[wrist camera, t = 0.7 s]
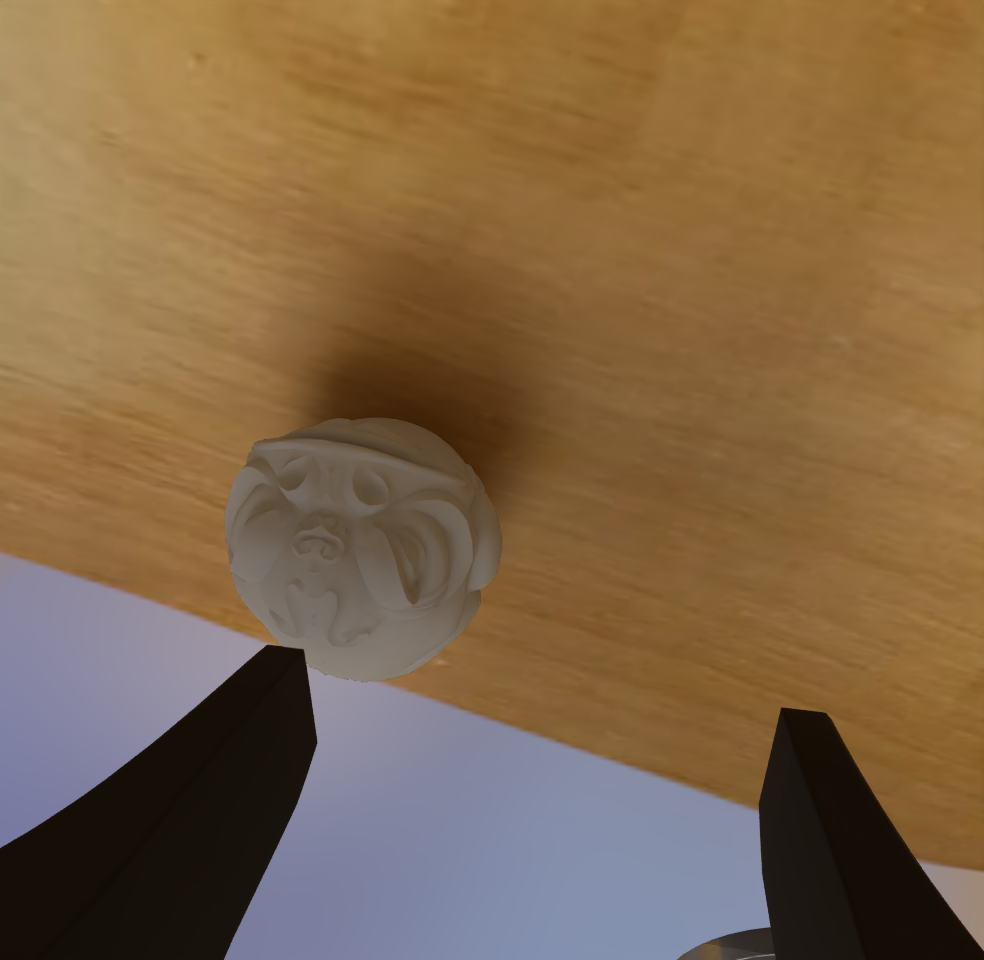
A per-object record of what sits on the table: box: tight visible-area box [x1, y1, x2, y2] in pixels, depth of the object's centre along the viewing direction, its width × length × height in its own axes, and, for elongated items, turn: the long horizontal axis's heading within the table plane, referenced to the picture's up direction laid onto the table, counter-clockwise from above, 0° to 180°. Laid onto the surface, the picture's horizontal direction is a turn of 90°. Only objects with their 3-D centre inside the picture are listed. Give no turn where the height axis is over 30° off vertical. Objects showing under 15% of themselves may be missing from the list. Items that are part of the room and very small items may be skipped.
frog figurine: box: [225, 417, 502, 682], centre depth 19 cm, size 6×7×7 cm
